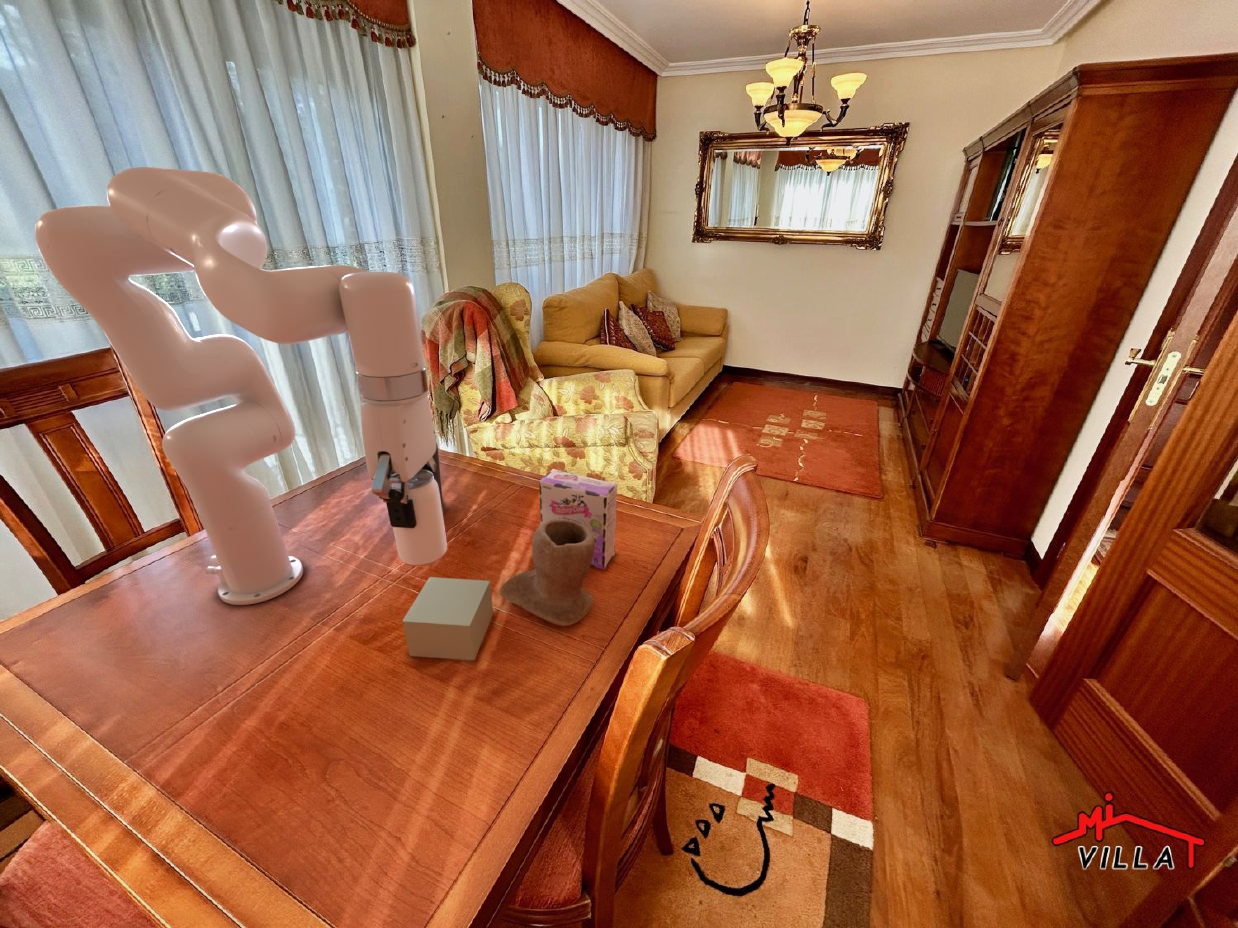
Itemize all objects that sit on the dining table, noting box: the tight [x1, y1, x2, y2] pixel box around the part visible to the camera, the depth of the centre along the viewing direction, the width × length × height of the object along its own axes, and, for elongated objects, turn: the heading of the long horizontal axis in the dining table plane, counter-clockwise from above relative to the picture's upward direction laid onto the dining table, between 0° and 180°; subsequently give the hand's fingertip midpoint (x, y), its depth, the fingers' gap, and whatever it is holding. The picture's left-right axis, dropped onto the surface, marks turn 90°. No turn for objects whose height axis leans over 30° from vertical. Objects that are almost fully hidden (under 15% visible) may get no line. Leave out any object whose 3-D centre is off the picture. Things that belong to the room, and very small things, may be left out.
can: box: [391, 469, 448, 567], centre depth 68 cm, size 6×6×12 cm
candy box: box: [538, 468, 618, 570], centre depth 96 cm, size 14×6×16 cm, turn 68°
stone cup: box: [498, 519, 595, 627], centre depth 84 cm, size 15×12×15 cm
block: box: [401, 576, 494, 661], centre depth 78 cm, size 10×10×7 cm
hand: (416, 510), depth 67 cm, fingers closed on can, 6 cm apart
